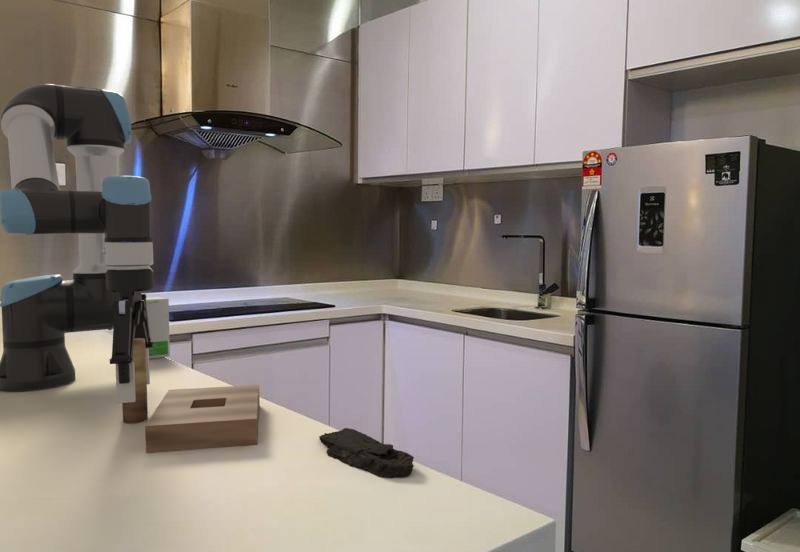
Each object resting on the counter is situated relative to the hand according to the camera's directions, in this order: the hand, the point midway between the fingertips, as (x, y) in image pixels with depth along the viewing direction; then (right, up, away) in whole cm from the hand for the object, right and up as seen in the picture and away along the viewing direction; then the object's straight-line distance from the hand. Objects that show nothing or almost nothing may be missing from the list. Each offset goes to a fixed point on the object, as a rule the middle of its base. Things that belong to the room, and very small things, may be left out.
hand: (134, 392), depth 109 cm
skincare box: (-20, -1, +57) cm, 61 cm away
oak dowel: (0, -5, 0) cm, 5 cm away
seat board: (+14, -5, -4) cm, 16 cm away
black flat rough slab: (+40, -6, -18) cm, 45 cm away
